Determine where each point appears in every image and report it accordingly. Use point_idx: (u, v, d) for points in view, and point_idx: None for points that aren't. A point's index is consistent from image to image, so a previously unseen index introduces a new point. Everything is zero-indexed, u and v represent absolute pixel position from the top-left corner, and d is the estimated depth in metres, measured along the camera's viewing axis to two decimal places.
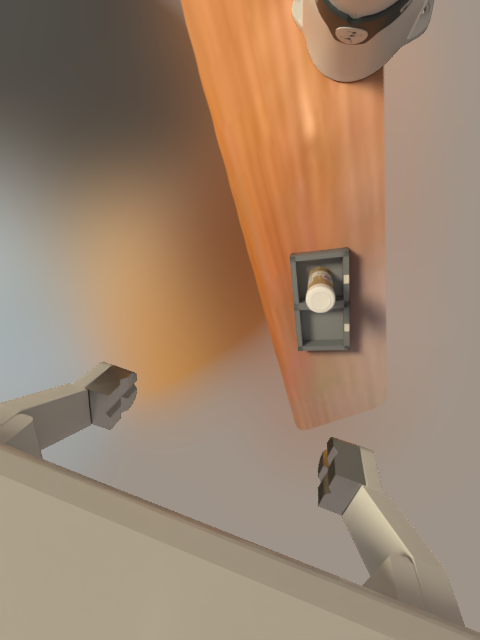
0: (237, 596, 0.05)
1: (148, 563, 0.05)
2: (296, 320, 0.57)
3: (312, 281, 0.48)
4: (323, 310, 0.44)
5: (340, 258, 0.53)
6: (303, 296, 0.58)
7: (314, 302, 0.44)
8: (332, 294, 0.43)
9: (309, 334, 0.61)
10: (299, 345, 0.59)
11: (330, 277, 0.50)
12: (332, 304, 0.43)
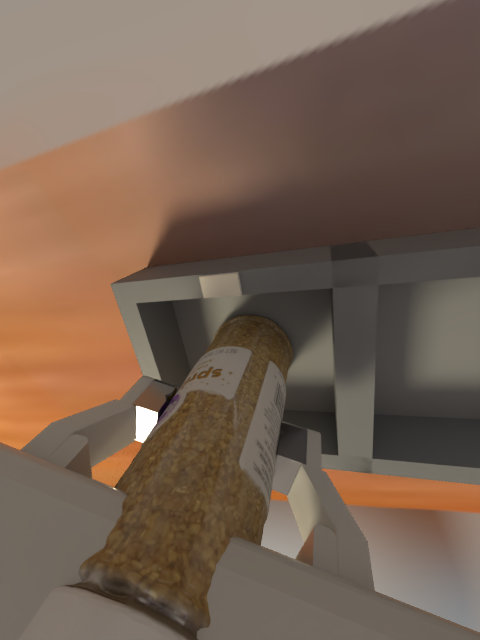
0: (237, 596, 0.05)
1: None
2: (426, 475, 0.13)
3: None
4: None
5: None
6: (328, 400, 0.16)
7: None
8: None
9: None
10: None
11: (197, 367, 0.11)
12: None
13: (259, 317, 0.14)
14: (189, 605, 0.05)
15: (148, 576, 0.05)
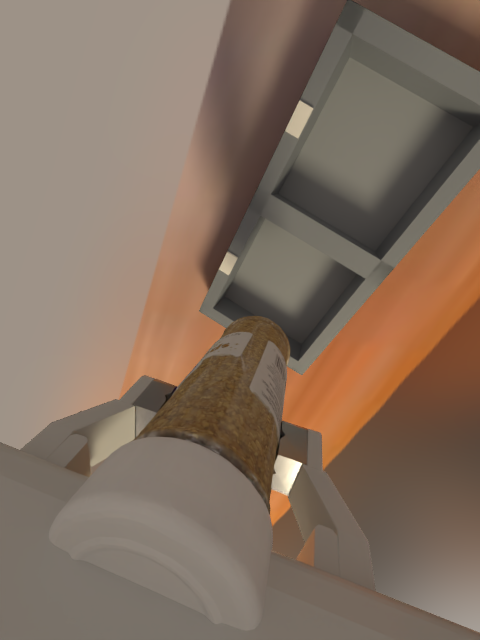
0: None
1: None
2: (417, 235, 0.17)
3: None
4: (220, 595, 0.05)
5: (231, 290, 0.26)
6: None
7: None
8: (67, 523, 0.05)
9: (433, 139, 0.17)
10: None
11: None
12: (143, 526, 0.05)
13: (256, 316, 0.17)
14: (221, 444, 0.06)
15: (190, 430, 0.07)
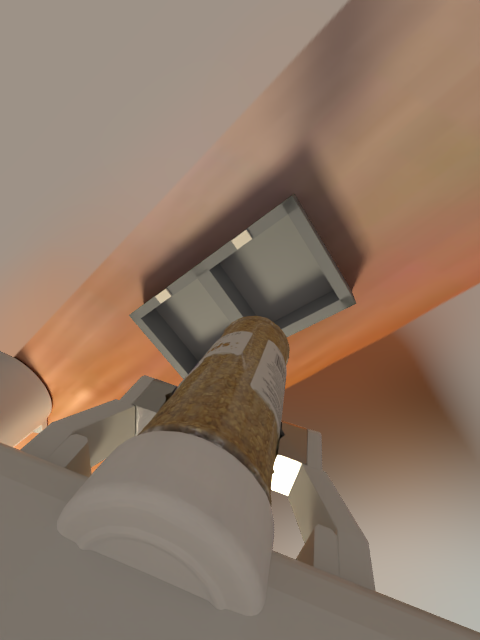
0: None
1: None
2: None
3: None
4: (224, 582, 0.05)
5: (161, 305, 0.32)
6: None
7: None
8: (75, 513, 0.05)
9: (316, 282, 0.27)
10: (339, 306, 0.24)
11: (209, 349, 0.13)
12: (150, 514, 0.05)
13: (256, 316, 0.17)
14: (224, 439, 0.07)
15: (193, 425, 0.07)
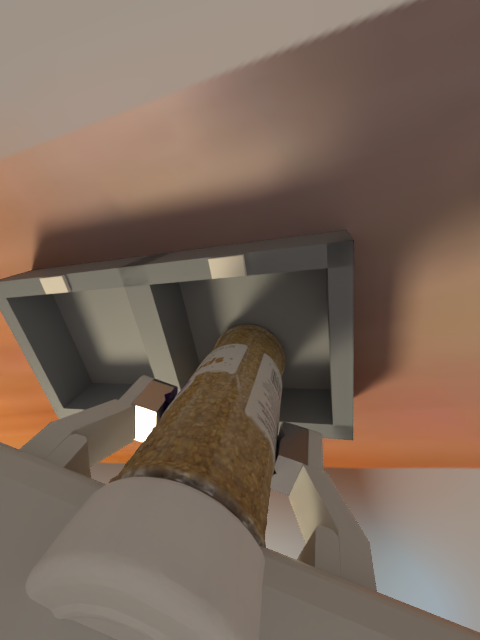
0: None
1: None
2: None
3: None
4: None
5: None
6: None
7: None
8: (41, 585, 0.04)
9: (306, 369, 0.17)
10: (327, 432, 0.15)
11: (201, 363, 0.13)
12: (127, 595, 0.04)
13: (251, 325, 0.16)
14: (215, 484, 0.06)
15: (181, 467, 0.06)
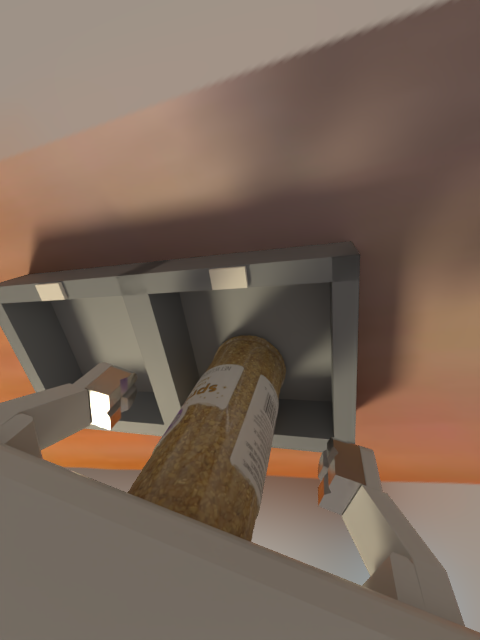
0: (237, 596, 0.05)
1: (148, 563, 0.05)
2: None
3: None
4: None
5: None
6: None
7: None
8: None
9: (307, 380, 0.17)
10: None
11: (197, 385, 0.13)
12: None
13: (252, 336, 0.16)
14: None
15: None
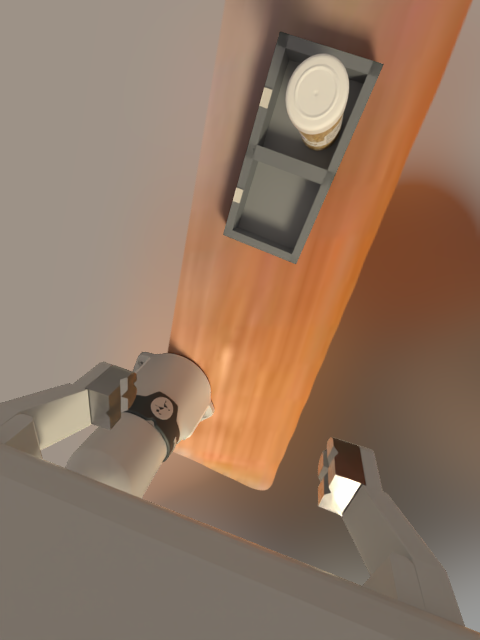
0: (238, 597, 0.05)
1: (148, 563, 0.05)
2: (343, 149, 0.29)
3: (325, 135, 0.25)
4: (318, 60, 0.19)
5: (242, 221, 0.39)
6: (314, 185, 0.34)
7: (329, 90, 0.20)
8: (288, 103, 0.21)
9: None
10: (372, 80, 0.27)
11: None
12: (294, 75, 0.20)
13: None
14: None
15: None
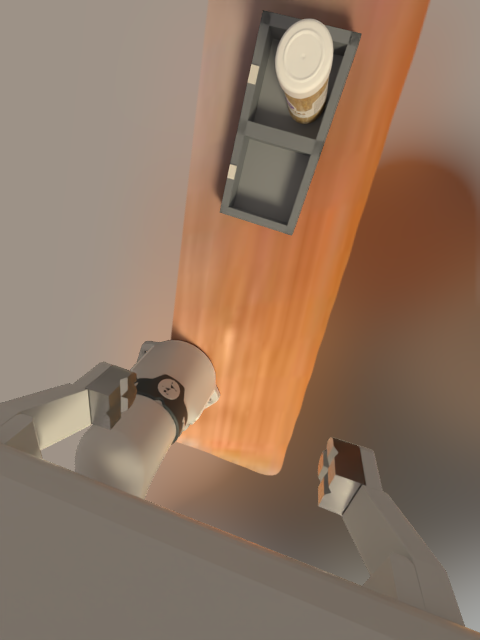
0: (238, 597, 0.05)
1: (148, 563, 0.05)
2: (330, 118, 0.31)
3: (313, 102, 0.27)
4: (303, 25, 0.21)
5: (237, 199, 0.40)
6: (304, 158, 0.36)
7: (315, 52, 0.21)
8: (278, 68, 0.22)
9: None
10: (352, 49, 0.28)
11: None
12: (282, 41, 0.22)
13: None
14: None
15: None
